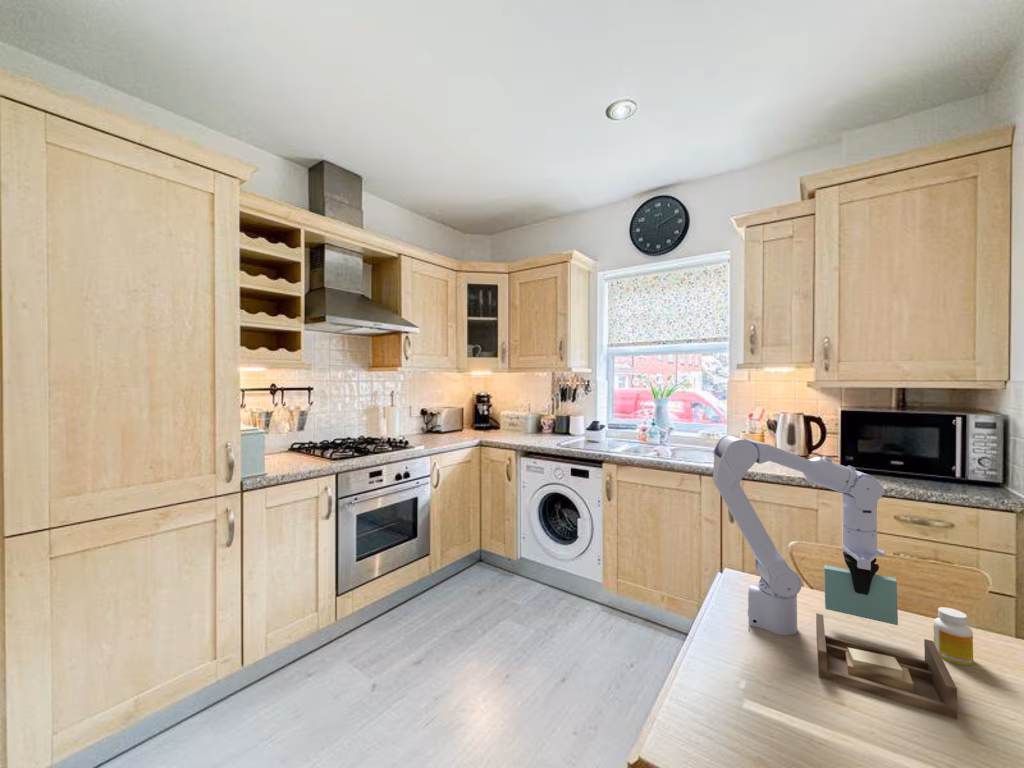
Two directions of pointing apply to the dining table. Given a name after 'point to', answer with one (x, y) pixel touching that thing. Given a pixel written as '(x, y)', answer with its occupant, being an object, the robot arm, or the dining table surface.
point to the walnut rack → (927, 676)
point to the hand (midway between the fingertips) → (860, 590)
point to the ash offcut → (875, 662)
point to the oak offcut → (883, 677)
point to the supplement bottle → (953, 636)
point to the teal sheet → (861, 596)
